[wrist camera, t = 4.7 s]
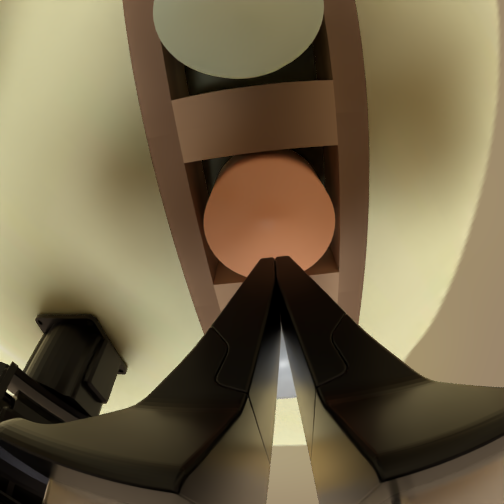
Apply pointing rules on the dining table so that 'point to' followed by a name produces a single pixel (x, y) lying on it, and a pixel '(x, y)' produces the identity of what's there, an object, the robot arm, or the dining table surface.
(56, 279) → the dining table surface
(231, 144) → the brown wooden flat tray
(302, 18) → the sage button
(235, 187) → the terracotta button
